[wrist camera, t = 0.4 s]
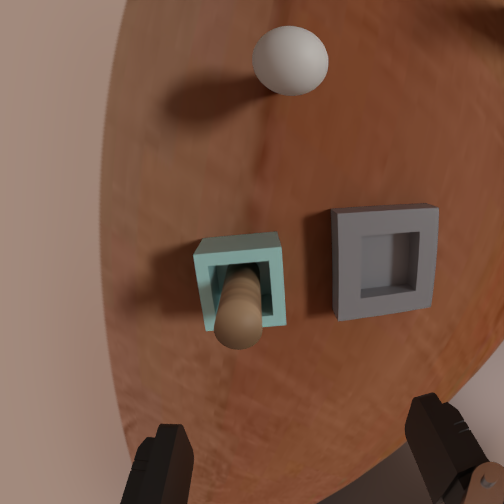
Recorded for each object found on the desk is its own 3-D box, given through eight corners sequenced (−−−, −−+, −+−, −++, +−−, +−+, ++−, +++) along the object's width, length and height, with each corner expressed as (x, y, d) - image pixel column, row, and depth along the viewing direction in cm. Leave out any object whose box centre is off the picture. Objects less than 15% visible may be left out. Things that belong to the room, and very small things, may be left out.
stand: (330, 208, 34) (337, 213, 31) (426, 203, 33) (438, 207, 31) (332, 309, 37) (338, 321, 34) (420, 296, 37) (430, 306, 34)
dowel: (224, 258, 34) (210, 309, 23) (258, 255, 34) (260, 306, 23) (228, 289, 36) (217, 350, 24) (261, 286, 35) (264, 347, 24)
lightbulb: (278, 120, 31) (290, 103, 21) (240, 77, 30) (234, 43, 19) (322, 87, 30) (352, 59, 20) (285, 45, 29) (298, 2, 18)
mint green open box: (203, 238, 35) (193, 254, 29) (276, 231, 35) (281, 246, 29) (212, 304, 37) (206, 330, 31) (281, 299, 37) (286, 324, 31)
